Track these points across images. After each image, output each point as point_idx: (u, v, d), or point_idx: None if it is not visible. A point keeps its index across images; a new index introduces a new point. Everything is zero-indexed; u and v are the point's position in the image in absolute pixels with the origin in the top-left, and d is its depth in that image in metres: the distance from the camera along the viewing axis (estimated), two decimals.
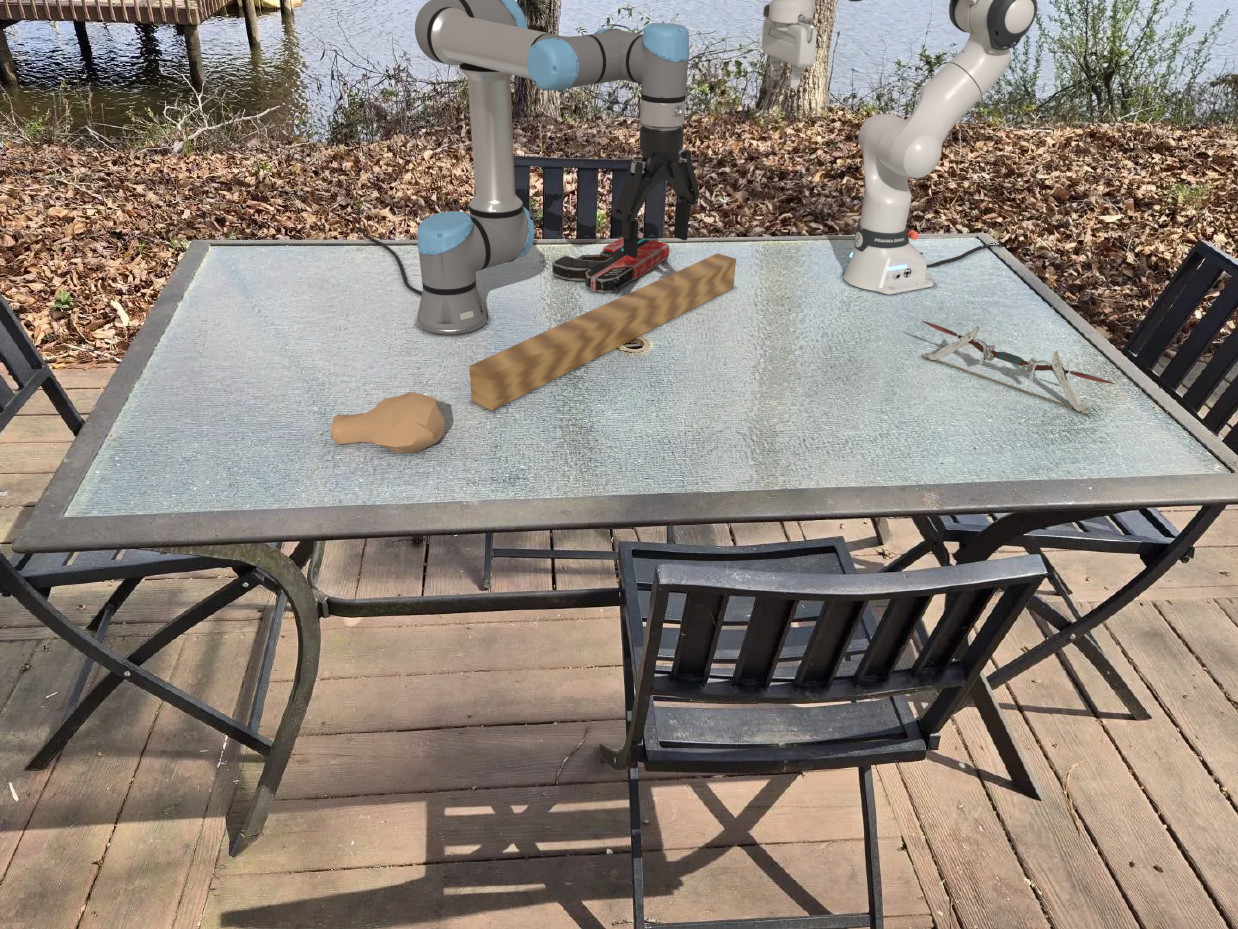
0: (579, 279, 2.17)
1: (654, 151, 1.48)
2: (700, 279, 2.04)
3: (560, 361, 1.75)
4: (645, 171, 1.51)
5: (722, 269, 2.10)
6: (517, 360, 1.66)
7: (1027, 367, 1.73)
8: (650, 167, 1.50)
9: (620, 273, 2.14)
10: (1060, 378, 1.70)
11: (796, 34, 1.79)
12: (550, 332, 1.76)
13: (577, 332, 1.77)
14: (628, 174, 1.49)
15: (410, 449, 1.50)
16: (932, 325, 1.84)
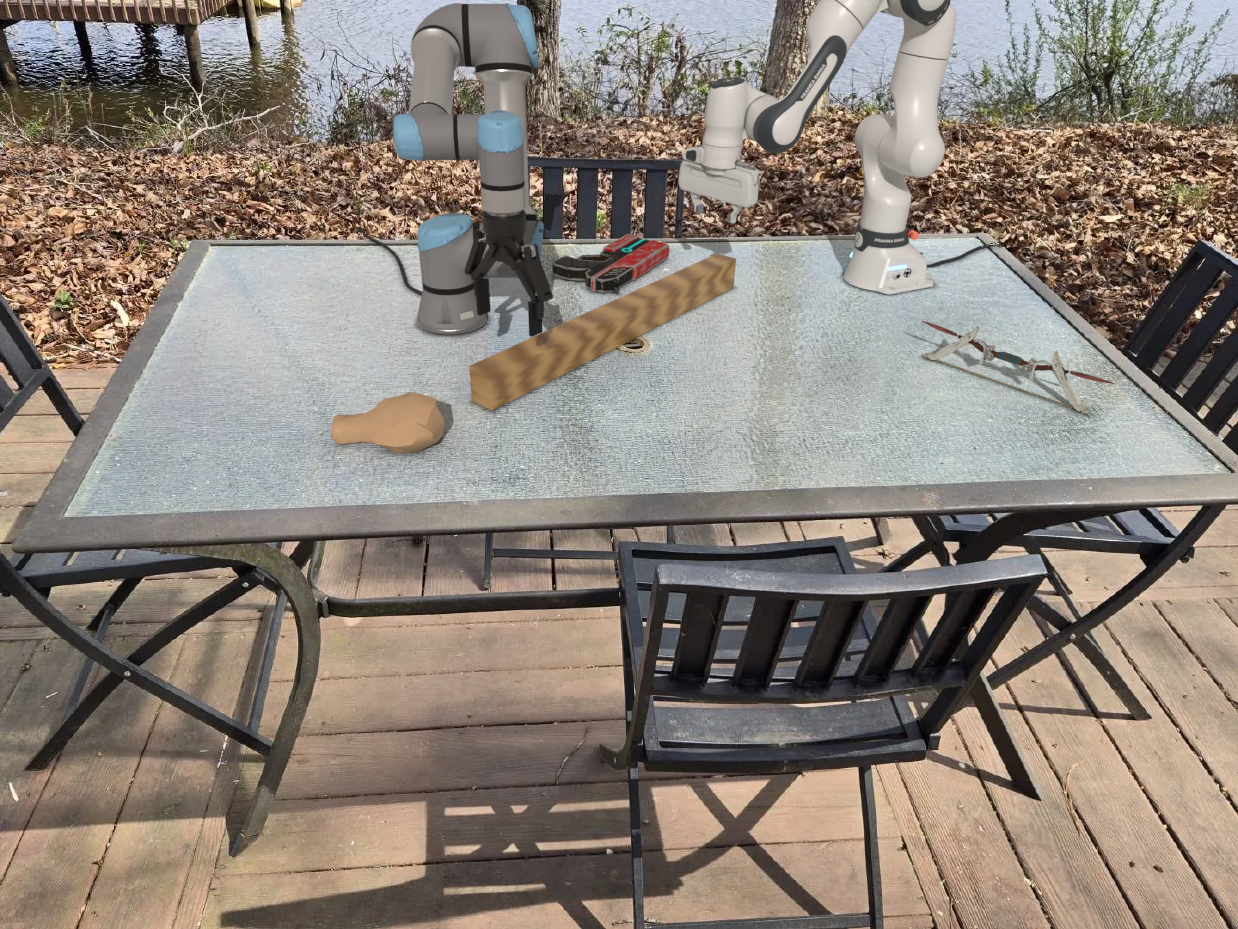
0: (579, 279, 2.17)
1: (525, 231, 1.52)
2: (700, 279, 2.04)
3: (560, 361, 1.75)
4: None
5: (722, 269, 2.10)
6: (517, 360, 1.66)
7: (1027, 367, 1.73)
8: None
9: (620, 273, 2.14)
10: (1060, 378, 1.70)
11: (741, 179, 1.93)
12: (550, 332, 1.76)
13: (577, 332, 1.77)
14: (531, 260, 1.51)
15: (410, 449, 1.50)
16: (932, 325, 1.84)
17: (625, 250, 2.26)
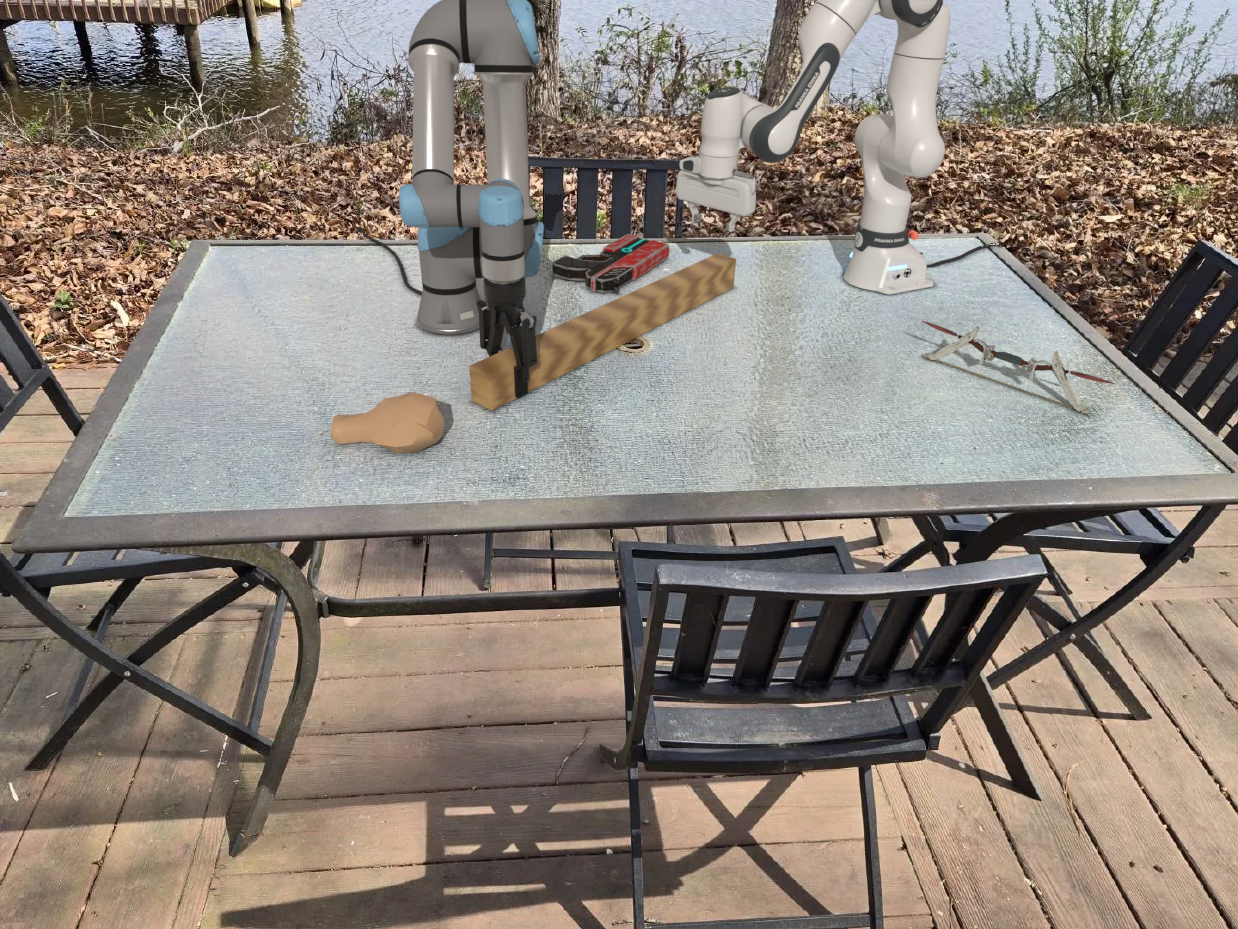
0: (579, 279, 2.17)
1: (524, 296, 1.59)
2: (700, 279, 2.04)
3: (560, 361, 1.75)
4: None
5: (722, 269, 2.10)
6: None
7: (1027, 367, 1.73)
8: None
9: (620, 273, 2.14)
10: (1060, 378, 1.70)
11: (738, 188, 1.94)
12: (550, 332, 1.76)
13: (577, 332, 1.77)
14: (527, 331, 1.59)
15: (410, 449, 1.50)
16: (932, 325, 1.84)
17: (625, 250, 2.26)
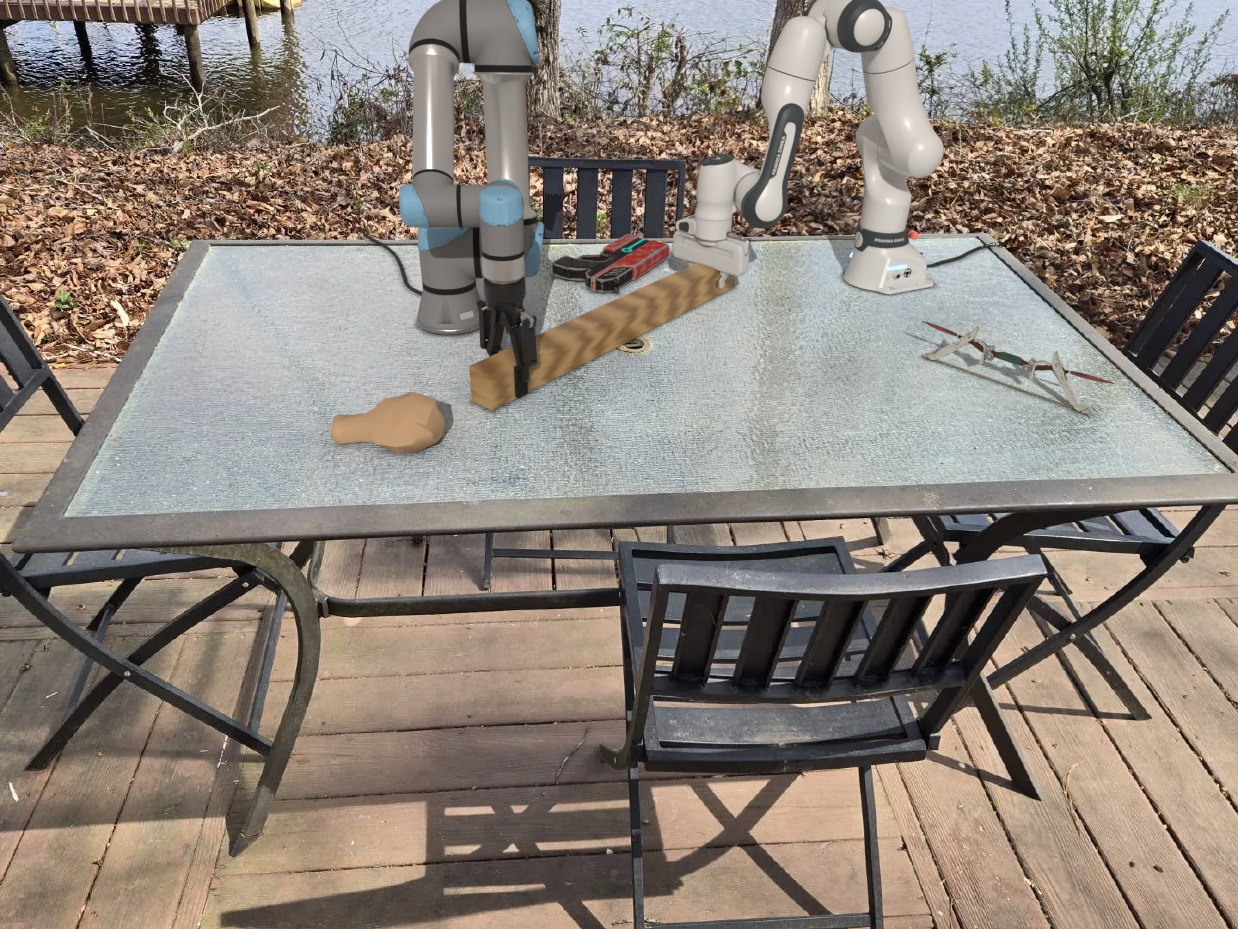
0: (579, 279, 2.17)
1: (524, 296, 1.59)
2: (700, 279, 2.04)
3: (560, 361, 1.75)
4: None
5: None
6: None
7: (1027, 367, 1.73)
8: None
9: (620, 273, 2.14)
10: (1060, 378, 1.70)
11: (732, 250, 2.02)
12: (550, 332, 1.76)
13: (577, 332, 1.77)
14: (527, 331, 1.59)
15: (410, 449, 1.50)
16: (932, 325, 1.84)
17: (625, 250, 2.26)
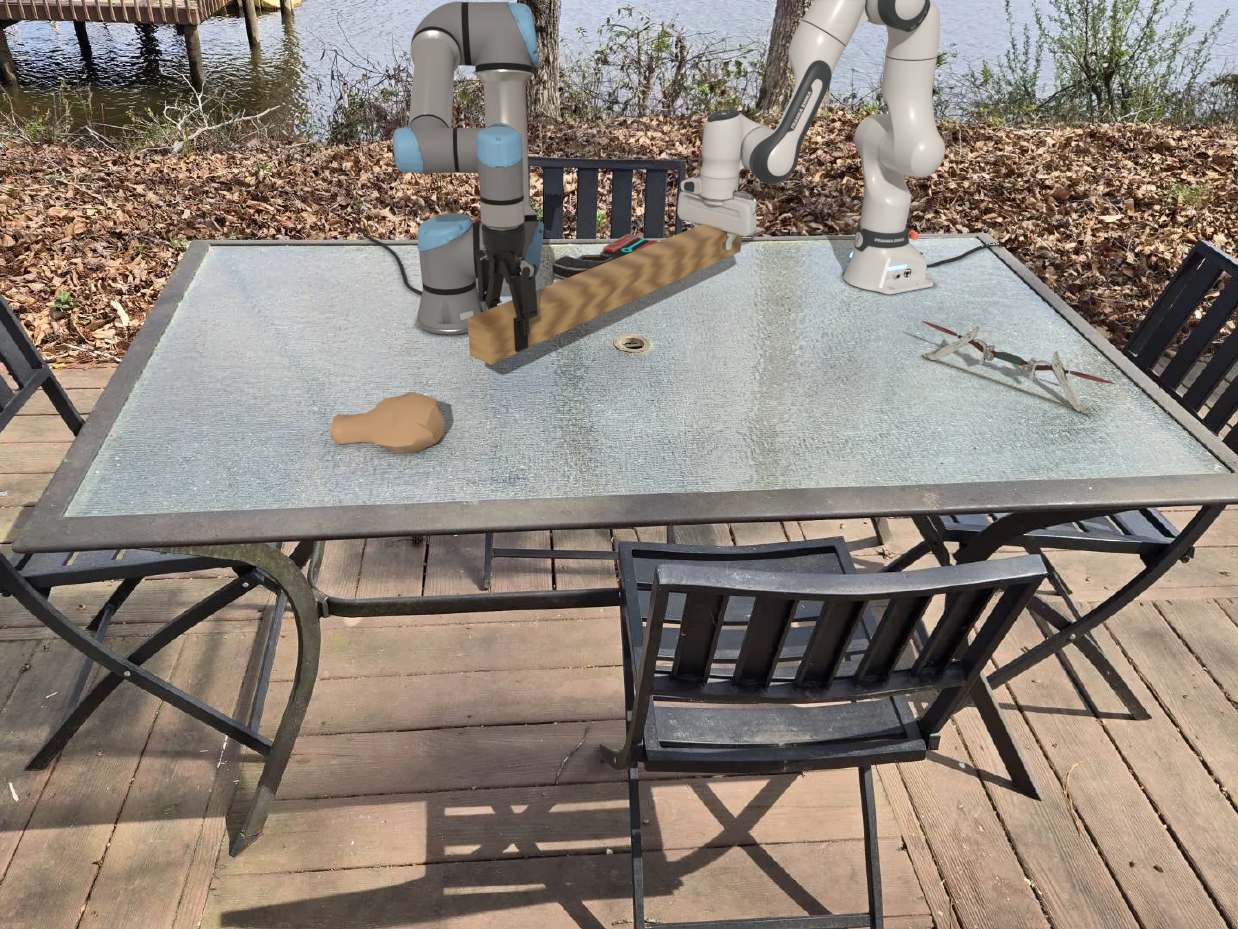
0: None
1: (524, 244, 1.53)
2: (707, 240, 1.98)
3: (561, 317, 1.69)
4: None
5: None
6: None
7: (1027, 367, 1.73)
8: None
9: None
10: (1060, 378, 1.70)
11: (739, 209, 1.96)
12: (552, 287, 1.71)
13: (580, 287, 1.71)
14: (527, 280, 1.53)
15: (410, 449, 1.50)
16: (932, 325, 1.84)
17: (625, 250, 2.26)
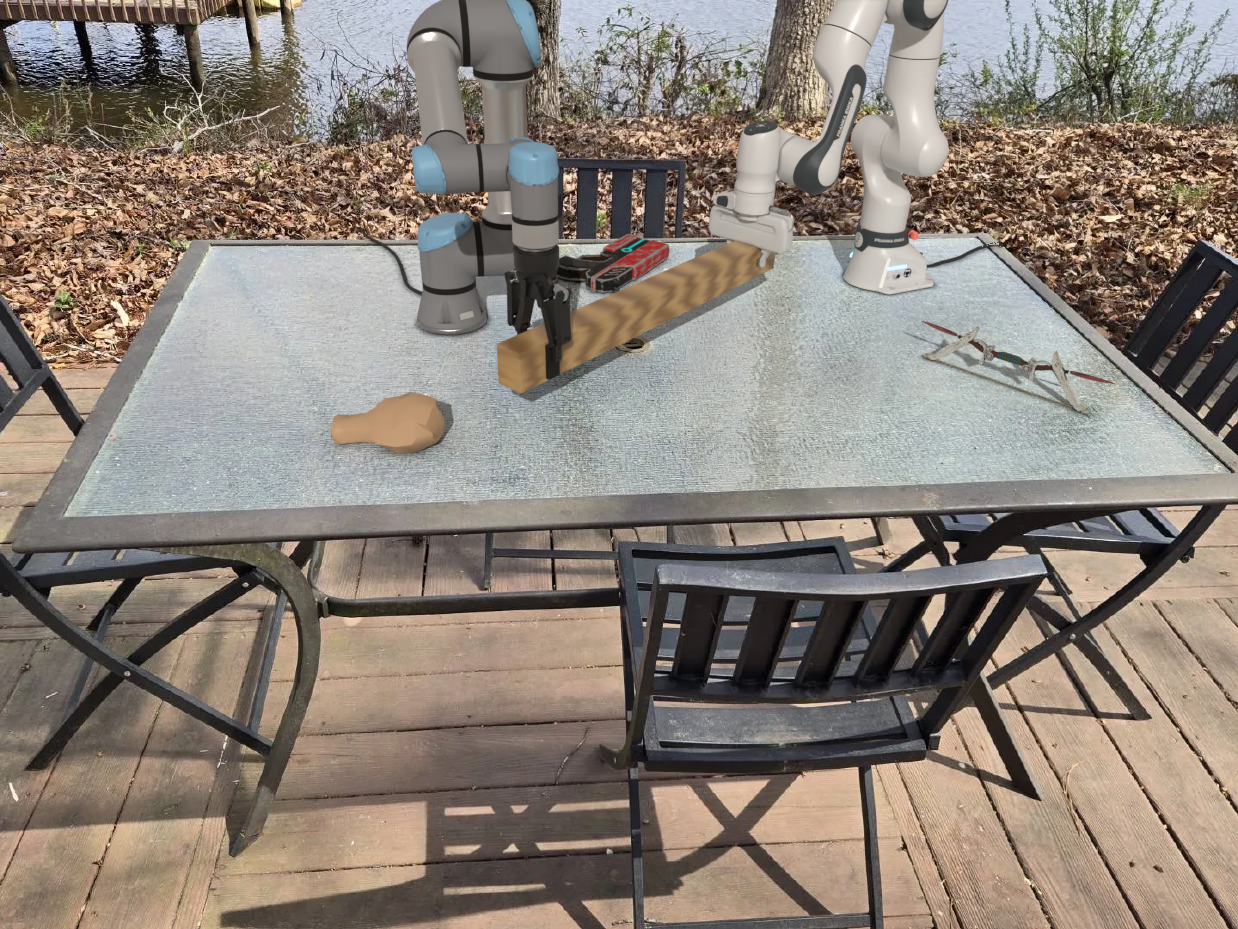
0: (579, 279, 2.17)
1: (558, 266, 1.44)
2: (741, 257, 1.89)
3: (594, 341, 1.60)
4: None
5: None
6: None
7: (1027, 367, 1.73)
8: None
9: (620, 273, 2.14)
10: (1060, 378, 1.70)
11: (775, 225, 1.87)
12: (583, 309, 1.61)
13: (613, 309, 1.62)
14: (561, 305, 1.44)
15: (410, 449, 1.50)
16: (932, 325, 1.84)
17: (625, 250, 2.26)
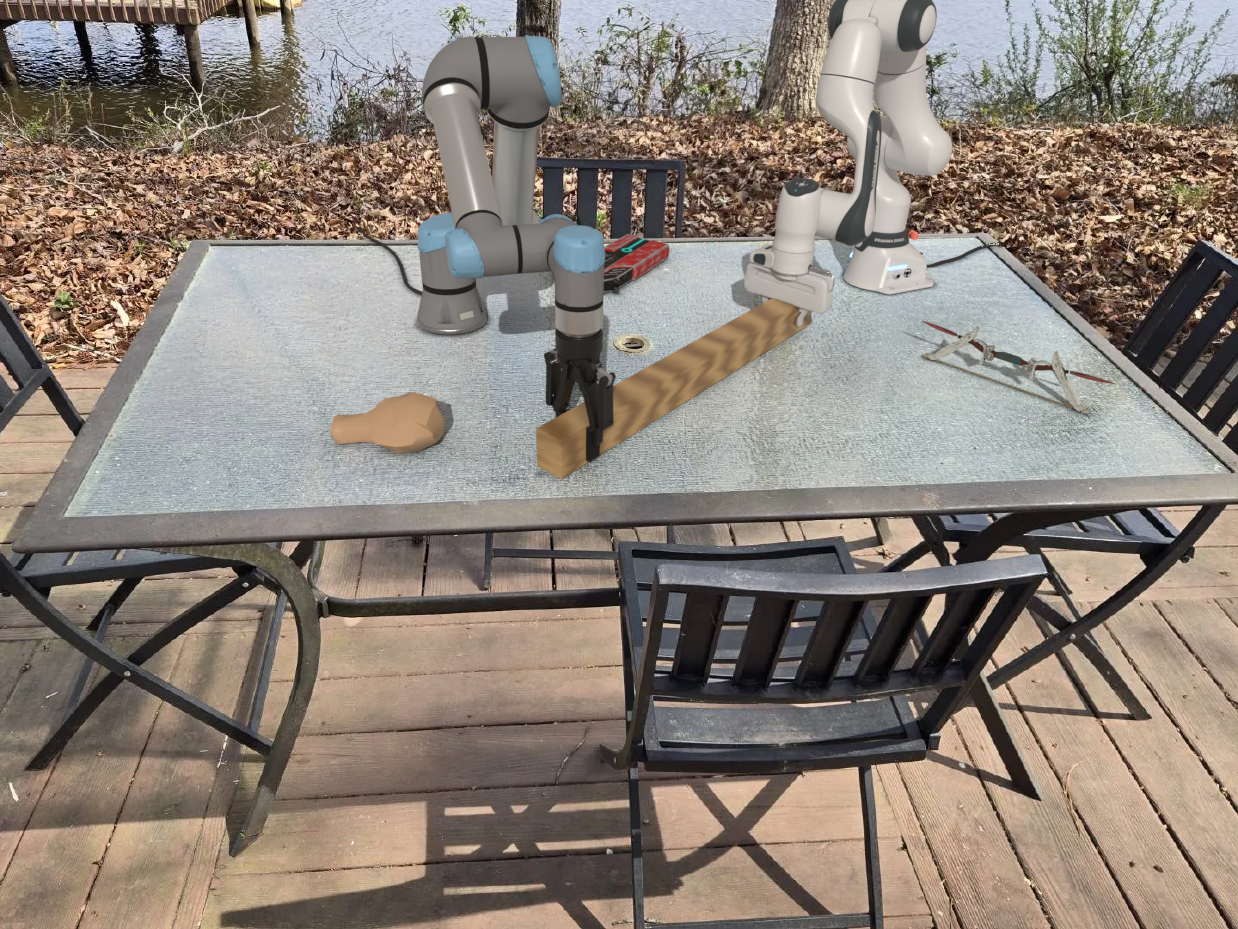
0: None
1: (601, 350, 1.39)
2: (778, 318, 1.84)
3: (634, 418, 1.55)
4: None
5: None
6: None
7: (1027, 367, 1.73)
8: None
9: (620, 273, 2.14)
10: (1060, 378, 1.70)
11: (815, 285, 1.82)
12: (622, 385, 1.56)
13: (653, 384, 1.57)
14: (604, 390, 1.39)
15: (410, 449, 1.50)
16: (932, 325, 1.84)
17: (625, 250, 2.26)
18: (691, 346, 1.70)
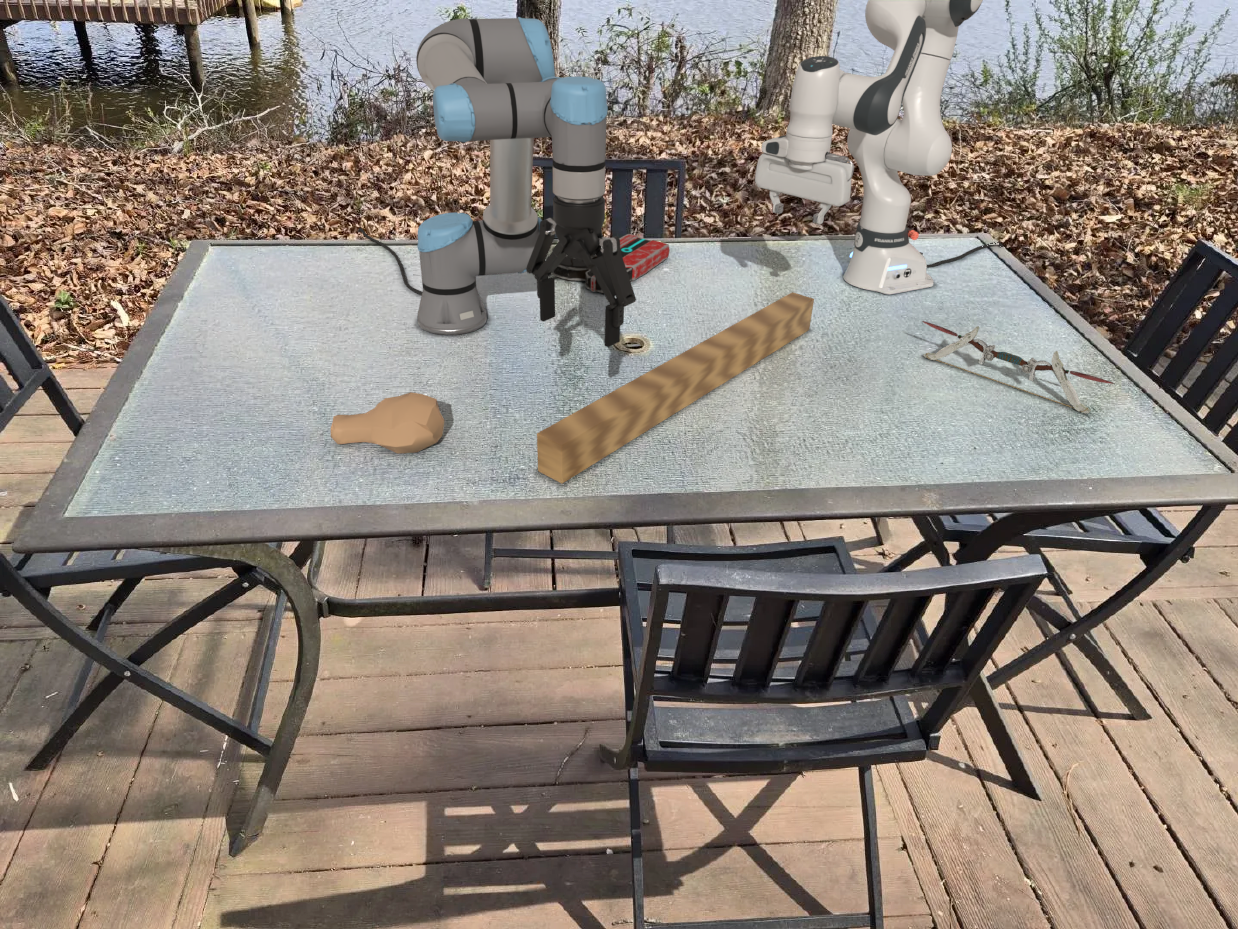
0: (579, 279, 2.17)
1: (603, 221, 1.27)
2: (778, 323, 1.85)
3: (634, 423, 1.56)
4: None
5: (799, 311, 1.90)
6: (590, 426, 1.46)
7: (1027, 367, 1.73)
8: None
9: None
10: (1060, 378, 1.70)
11: (832, 174, 1.69)
12: (622, 390, 1.57)
13: (653, 389, 1.57)
14: (612, 256, 1.26)
15: (410, 449, 1.50)
16: (932, 325, 1.84)
17: (625, 250, 2.26)
18: (691, 351, 1.70)
